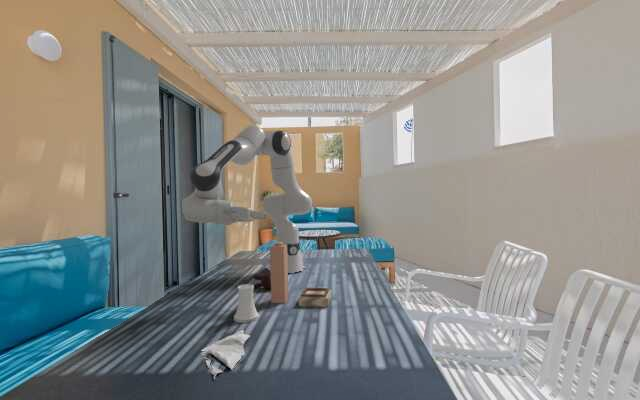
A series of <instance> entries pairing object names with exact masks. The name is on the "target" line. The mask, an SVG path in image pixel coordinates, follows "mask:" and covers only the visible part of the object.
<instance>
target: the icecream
mask: <svg viewBox="0 0 640 400" xmlns="http://www.w3.org/2000/svg"><path fill="white" fill-rule="evenodd" d="M253 278H254V279H253V280H257V281H260V282H257V283H254V284H253V285H254V287H253V289H261V288H262V287H263V288H264V289H267V290H271V273H270V272H267V273H264V274H263V275H261V274H259V273H257V274H254V275H253Z"/></svg>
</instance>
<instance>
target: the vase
mask: <svg viewBox="0 0 640 400" xmlns="http://www.w3.org/2000/svg"><path fill="white" fill-rule="evenodd" d="M254 285H255V284H250V283H249V284H241V285H238V286H237V291H238V292H237V293H238V302H237V308H236V312H235V314H234V315H233V321H234V322H236V323H242V324H243V323H251V322H254V321H257V320H258V319H259V317H260V316H259V315H260V314H259V312H257V309H256V306H255V302H254Z"/></svg>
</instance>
